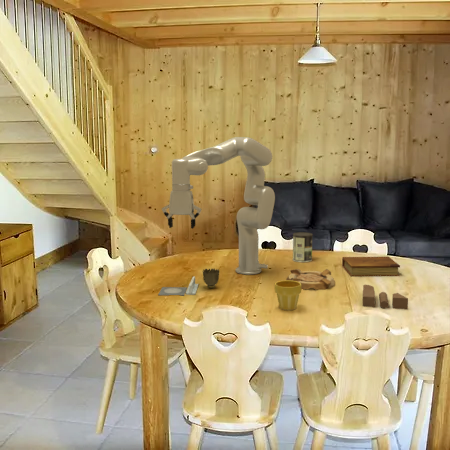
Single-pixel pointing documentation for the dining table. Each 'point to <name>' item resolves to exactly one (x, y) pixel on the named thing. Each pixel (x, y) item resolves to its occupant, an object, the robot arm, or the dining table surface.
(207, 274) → the ornate metal lamp shade
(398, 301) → the wooden block set
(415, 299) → the dining table surface
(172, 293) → the rest pad
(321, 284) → the ashtray
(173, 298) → the dining table surface
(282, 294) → the plant pot
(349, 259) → the diary
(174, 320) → the dining table surface
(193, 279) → the low wall
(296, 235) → the coffee can
